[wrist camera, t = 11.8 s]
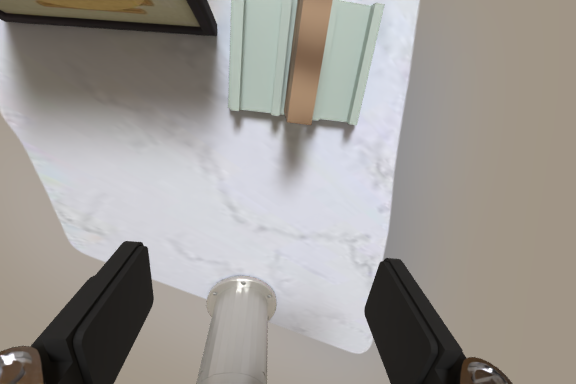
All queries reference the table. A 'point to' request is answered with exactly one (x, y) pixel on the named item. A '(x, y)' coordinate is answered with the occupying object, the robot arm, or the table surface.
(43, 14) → the picture frame
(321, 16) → the long brown rectangular block
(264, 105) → the display rail
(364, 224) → the table surface
